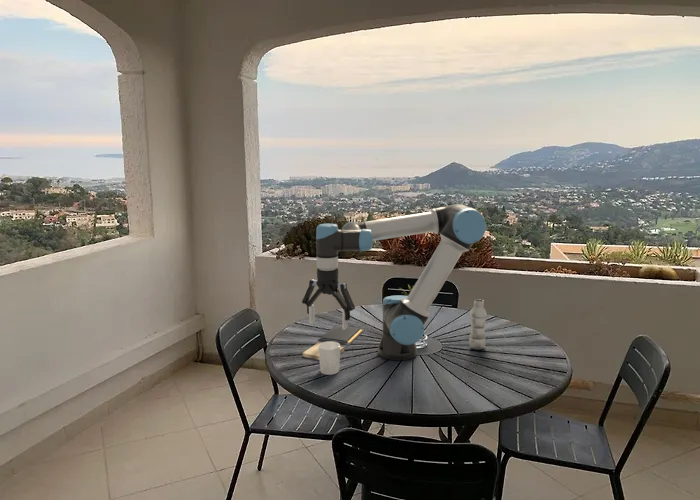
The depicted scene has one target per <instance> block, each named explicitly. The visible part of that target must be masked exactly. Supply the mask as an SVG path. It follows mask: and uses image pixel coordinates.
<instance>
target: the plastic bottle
mask: <svg viewBox="0 0 700 500" xmlns="http://www.w3.org/2000/svg"><path fill="white" fill-rule="evenodd" d="M484 303H485V301H484V299H480V298H479V299H478V298H475V299H474V301H473V307H472V308H471V310H470V313H469V316H470V335H469V341H468V344H469V347H470V348H471V349H473V350H478V351H479V350H480V351H481V350H483V349H484V348H485V347H486V343H487V341H486V331H485V330H486V329H485V327H486V322H487V321H486V320H487V315H488V314H487V310H486V309H485V307H484Z"/></svg>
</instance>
